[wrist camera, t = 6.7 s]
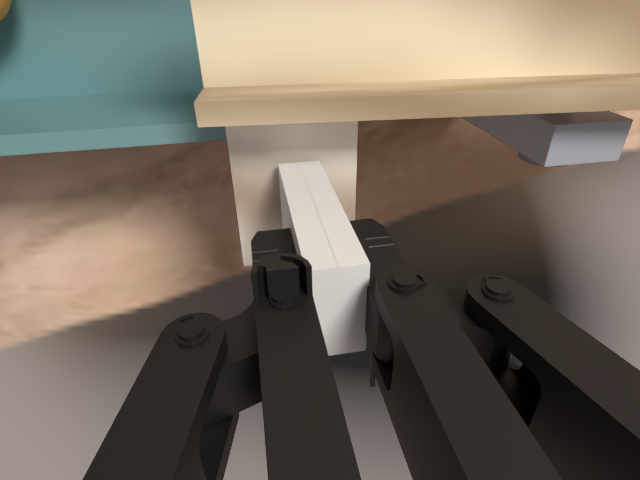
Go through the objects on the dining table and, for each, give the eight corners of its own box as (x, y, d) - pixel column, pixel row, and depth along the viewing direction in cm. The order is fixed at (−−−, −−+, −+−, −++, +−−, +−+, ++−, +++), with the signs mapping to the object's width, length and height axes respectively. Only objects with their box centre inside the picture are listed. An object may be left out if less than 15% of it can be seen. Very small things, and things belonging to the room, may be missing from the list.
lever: (173, -201, 12) (123, -286, 8) (1055, -194, 13) (1358, -261, 10) (235, 240, 19) (225, 304, 15) (796, 208, 21) (910, 259, 17)
